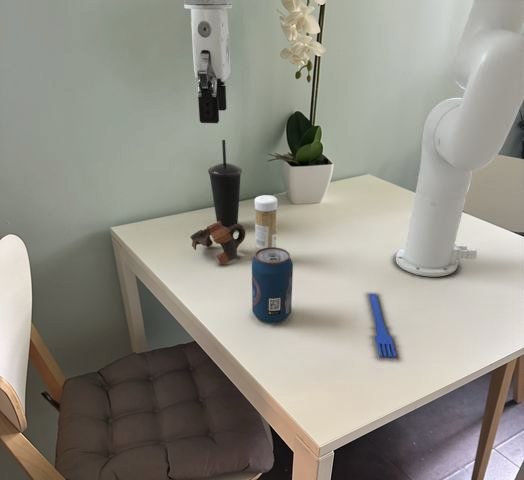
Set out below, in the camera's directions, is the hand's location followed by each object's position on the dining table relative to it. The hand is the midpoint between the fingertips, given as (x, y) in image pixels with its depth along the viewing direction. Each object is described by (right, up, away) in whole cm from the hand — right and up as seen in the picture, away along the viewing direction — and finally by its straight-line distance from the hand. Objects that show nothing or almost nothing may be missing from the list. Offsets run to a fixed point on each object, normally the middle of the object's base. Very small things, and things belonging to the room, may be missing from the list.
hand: (213, 116), depth 88 cm
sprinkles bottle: (+9, -22, +20) cm, 31 cm away
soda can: (+10, -35, +2) cm, 37 cm away
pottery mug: (-1, -20, +22) cm, 30 cm away
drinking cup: (0, -11, +34) cm, 36 cm away
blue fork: (+29, -37, 0) cm, 47 cm away
